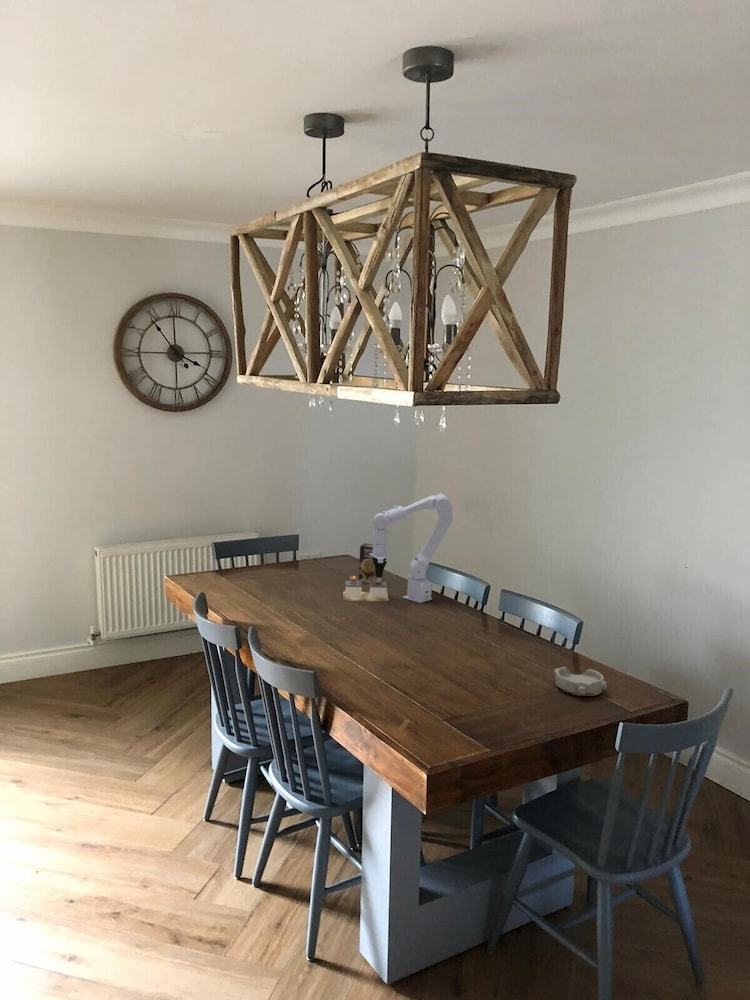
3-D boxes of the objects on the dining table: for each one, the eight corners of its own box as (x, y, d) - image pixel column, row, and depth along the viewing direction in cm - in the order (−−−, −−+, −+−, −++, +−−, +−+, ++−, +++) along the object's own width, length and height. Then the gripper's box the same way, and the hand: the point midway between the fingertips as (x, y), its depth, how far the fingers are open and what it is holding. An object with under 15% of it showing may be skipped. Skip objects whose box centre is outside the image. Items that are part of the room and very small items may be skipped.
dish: (547, 682, 247) (548, 666, 246) (588, 679, 250) (590, 664, 249) (569, 701, 233) (570, 685, 232) (612, 698, 236) (614, 682, 235)
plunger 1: (357, 590, 329) (357, 575, 328) (357, 592, 326) (358, 577, 325) (349, 590, 329) (349, 575, 328) (349, 592, 326) (350, 577, 325)
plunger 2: (382, 585, 329) (382, 570, 328) (382, 587, 326) (383, 572, 325) (374, 585, 329) (374, 570, 328) (374, 587, 326) (375, 572, 325)
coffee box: (358, 582, 351) (359, 545, 348) (362, 578, 357) (363, 542, 354) (378, 584, 348) (379, 547, 346) (382, 580, 354) (383, 544, 352)
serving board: (386, 594, 334) (387, 592, 333) (388, 601, 324) (388, 599, 324) (343, 593, 333) (343, 591, 332) (343, 600, 323) (343, 598, 323)
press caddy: (385, 593, 332) (386, 581, 331) (386, 598, 325) (387, 586, 324) (345, 592, 331) (345, 580, 330) (345, 597, 324) (345, 585, 323)
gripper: (369, 539, 332) (368, 571, 334) (370, 547, 317) (369, 580, 320) (386, 539, 332) (385, 571, 334) (388, 547, 318) (387, 581, 320)
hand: (378, 576), depth 327 cm, fingers closed on plunger 2, 3 cm apart
